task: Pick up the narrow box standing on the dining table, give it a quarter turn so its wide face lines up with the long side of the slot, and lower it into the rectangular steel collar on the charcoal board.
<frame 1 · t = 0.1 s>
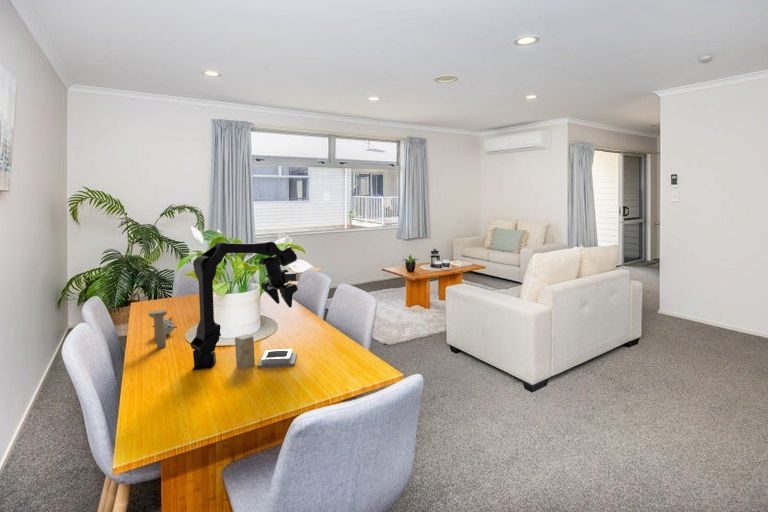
hand: (284, 305, 175), 15 cm above the table, tool pointing down, fingers open, 9 cm apart
socket: (277, 361, 156), on the table
grey piece: (165, 335, 188), on the table
box: (246, 366, 153), on the table
handle: (161, 347, 173), on the table
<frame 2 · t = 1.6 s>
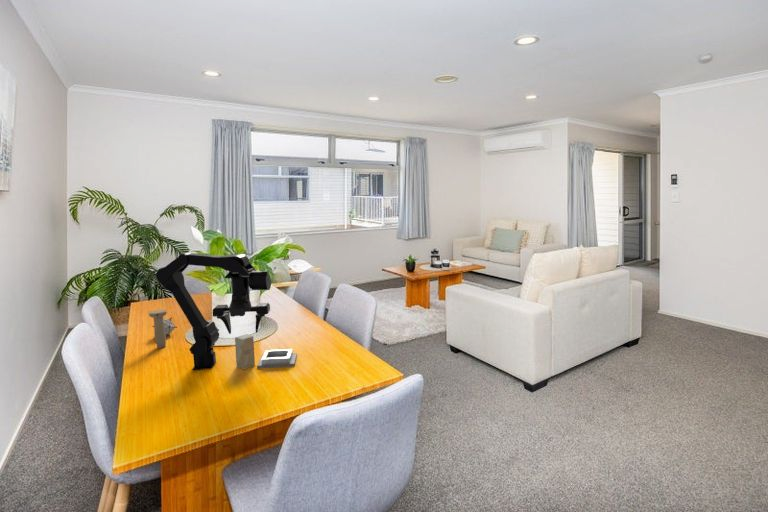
hand: (243, 332, 151), 12 cm above the table, tool pointing down, fingers open, 9 cm apart
nothing on the table moved.
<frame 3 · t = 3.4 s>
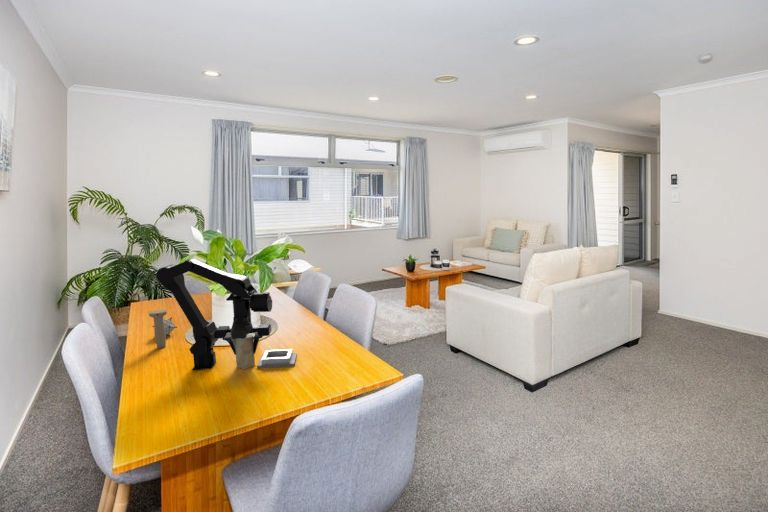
hand: (245, 353, 152), 5 cm above the table, tool pointing down, fingers closed on box, 6 cm apart
box: (246, 366, 153), on the table, touching gripper
everything else where it was.
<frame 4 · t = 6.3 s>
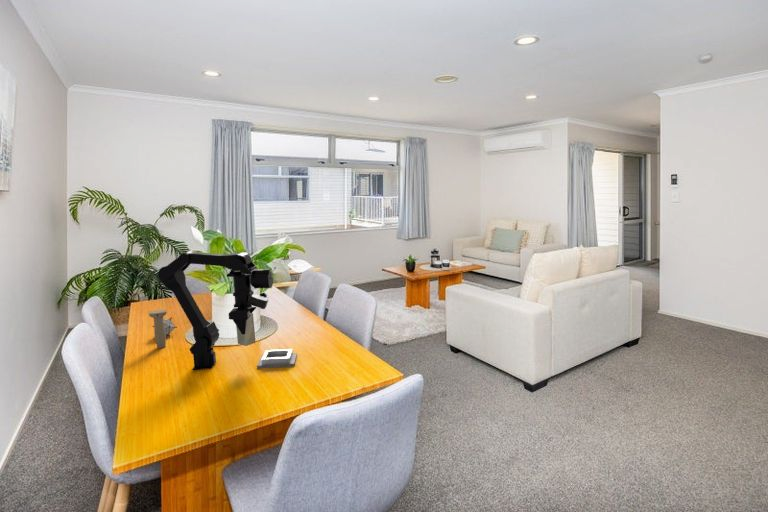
hand: (245, 331, 151), 13 cm above the table, tool pointing down, fingers closed on box, 6 cm apart
box: (246, 343, 152), point 8 cm above the table, touching gripper
everything else where it was.
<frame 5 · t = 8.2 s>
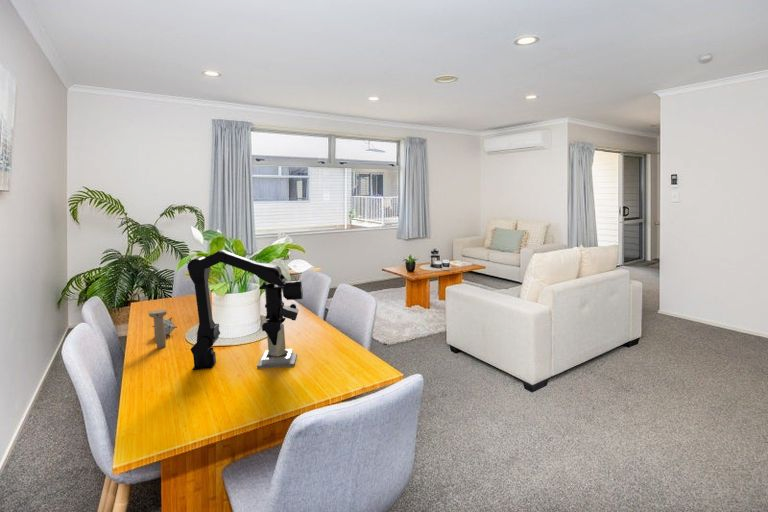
hand: (276, 341, 155), 8 cm above the table, tool pointing down, fingers closed on box, 6 cm apart
box: (276, 354, 155), point 3 cm above the table, touching gripper
everything else where it was.
when the fingers open (6 cm above the table, at t = 9.5 s): box stays where it is, resting on socket.
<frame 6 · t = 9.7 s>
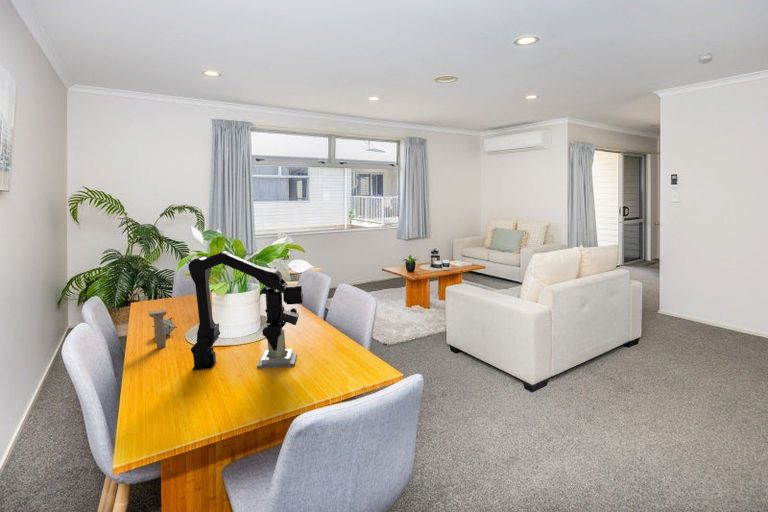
hand: (276, 346, 155), 6 cm above the table, tool pointing down, fingers open, 8 cm apart
box: (277, 359, 156), point 1 cm above the table, touching socket
everything else where it was.
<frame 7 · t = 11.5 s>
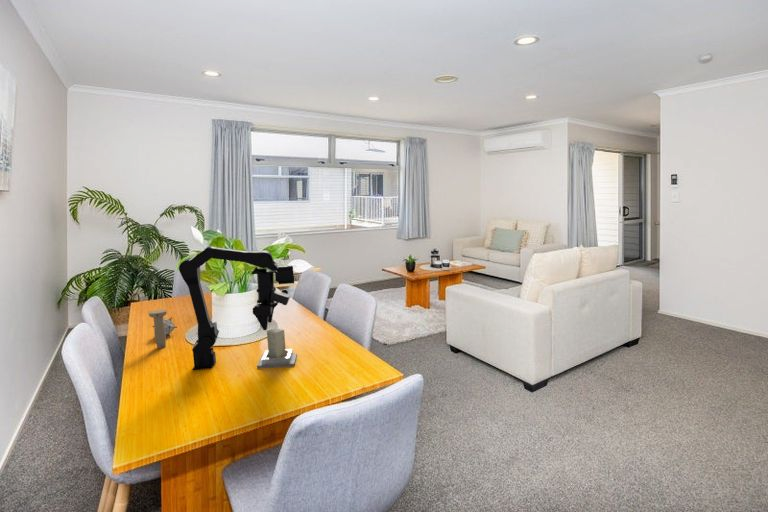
hand: (267, 326, 157), 13 cm above the table, tool pointing down, fingers open, 9 cm apart
nothing on the table moved.
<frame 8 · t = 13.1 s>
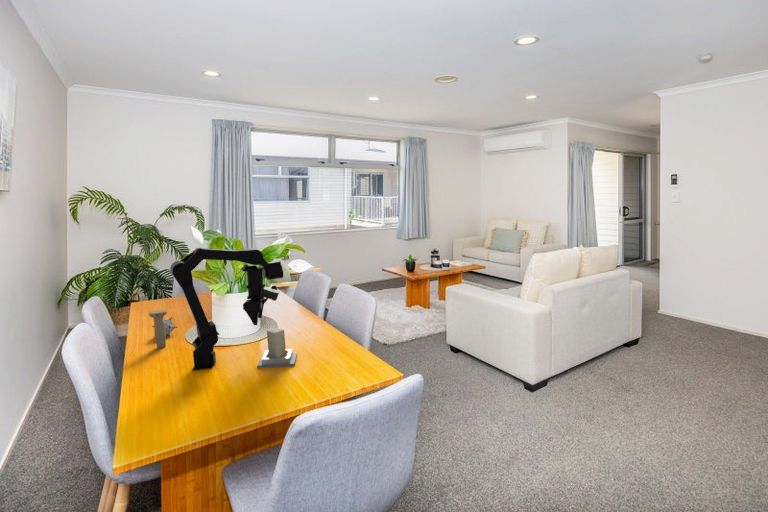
hand: (257, 321, 162), 13 cm above the table, tool pointing down, fingers open, 9 cm apart
nothing on the table moved.
at the end: box 0.1 cm off-centre on the socket, point 0.8 cm above the socket's base; box tilted 0°; the gripper is holding nothing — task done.
